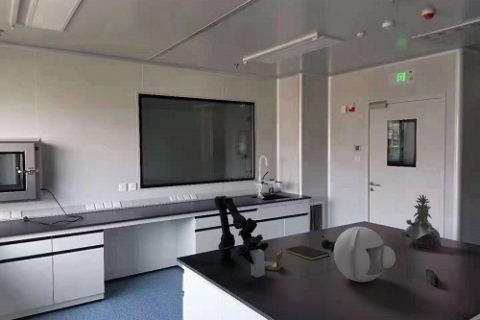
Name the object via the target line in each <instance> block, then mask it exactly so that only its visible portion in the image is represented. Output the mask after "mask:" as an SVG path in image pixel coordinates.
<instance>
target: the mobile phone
mask: <svg viewBox="0 0 480 320" xmlns="http://www.w3.org/2000/svg"><path fill="white" fill-rule="evenodd" d="M425 273H426V274H425V277H426V279H427V280H428V282H430V284H431V285H432V286H434V287H437V289H441V287H440V279H439V277H438V275H437V273H435V272H434V271H433V270H431V269H427V268H426V271H425Z"/></svg>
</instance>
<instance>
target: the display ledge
mask: <svg viewBox="0 0 480 320" xmlns="http://www.w3.org/2000/svg"><path fill="white" fill-rule="evenodd" d="M275 256H276V258H275V259H276V260H275V261H269V260H266V261H265V270H267V271H268V270H269V271H276V272H278V271H280V270H281V268H283V251H282V250H279V251H278V252H277V253H276V255H275Z"/></svg>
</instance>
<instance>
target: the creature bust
mask: <svg viewBox="0 0 480 320" xmlns="http://www.w3.org/2000/svg"><path fill="white" fill-rule="evenodd" d="M421 195H422V196H421ZM421 195H420V194H419V195H418V196H419V197H416V199H417V200H416V199H415V202H417V204H415V205H413V207H414V208H415V209H417V210H416V211H417V212H415V214H414V215H413V218H414V221H412V220H411V219H406V220H405V223H406V224H407V225H409V226H408V227H406V229H405V230H404V231H402V232H401V237H402V238H404V239H410V243H409V246H410V245H415V246H414V247H417V246H421V247H420V248H424V247H429V248H428V249H434V247H433V246H437V247H440V248H442V242H441V241H442V240H441V236H440V235H441V234H440V232H439V231H438V230H437V229H436V228H434V227H433V225H432V223H430V222H429V220H428V218H430V219H431V220H432V219H433V218H432V216H431V214H429V210H430V209H431V207H432V206H430V205H428V204H429V203H430V201H428V200H429V198H427V195H425V196H424V194H421Z"/></svg>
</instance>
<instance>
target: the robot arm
mask: <svg viewBox="0 0 480 320" xmlns="http://www.w3.org/2000/svg"><path fill="white" fill-rule="evenodd" d="M213 200H214V204H215V205H214V206H215V207H216V209H217V210H218V212H219V218H220V226H221V237H220V242H219V244H218V246H217V247H218V250H220V258H219V260H222V261H230V260H232V259H233V258H234V256H233V255H234V254H233V253H234V252H233V250H234V249H235V244H236V239H235V235H234V234H233V233H232V232H231V228H230V221H229V216H228V212H229V214H230V215H231V217H232V224H233V227H234V229H235V230H239V231H238V237H241V239H242V244H243V245H244V246H243V245H242V246H239V248H238V249H237V250H236V251H235V253H236V256H237V257H241V258H243V259H245V260H246V261H248V262H249V263H250V265H251V264H254V262H253V260H252V257H251V251H254V250H262V251H264V259H265V261H267V260H266V255H265V254H266V253H265V252H266V250H267V249H268V248H269V247H270V245H269V243H268V242H267V241H264V238H263V235H262V233H260V234H258V235H256V236H254V235H252V233H254V231H255V229H256V228H257V227H258V223H257V222H256V220H254V219H252V217H247V218H246V216H244V215H242V214H241V212H240V211H239V209H238V207H237V206H236V203H235V202H234V199H233V197H231V196H227V195H217V196H215V198H214V199H213ZM262 241H264V242H262ZM259 243H260V244H259Z"/></svg>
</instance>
